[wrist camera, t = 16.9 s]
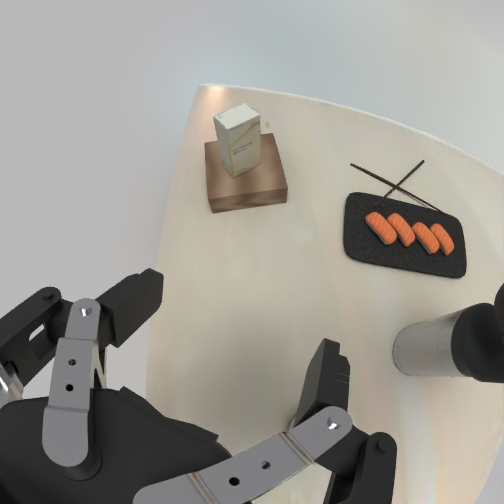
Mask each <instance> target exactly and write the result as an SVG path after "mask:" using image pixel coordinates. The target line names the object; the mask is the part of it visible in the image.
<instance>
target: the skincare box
mask: <svg viewBox="0 0 504 504" xmlns="http://www.w3.org/2000/svg"><path fill="white" fill-rule="evenodd" d="M213 119H214V124H215V129H216V134H217V139H218V144H219V149H220V155H221V160H222V164H223V166H224V167H225V168H226V169H227V171H228V172H229V173H230V174H231V175H232V176H233V177H236V176H238V175H240V174H242V173H244V172H246V171H248V170H250V169H252V168H254V167H255V166H257V165H259V164H261V136H260V114H259V113H258V112H257V111H256V110H254V109H253V108H252V107H251V106H250V105H248V104H247V103H242V104H240V105H237V106H235V107H233V108H230V109H228V110H226V111H224V112H221V113H219V114H217V115H215V116H213Z"/></svg>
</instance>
